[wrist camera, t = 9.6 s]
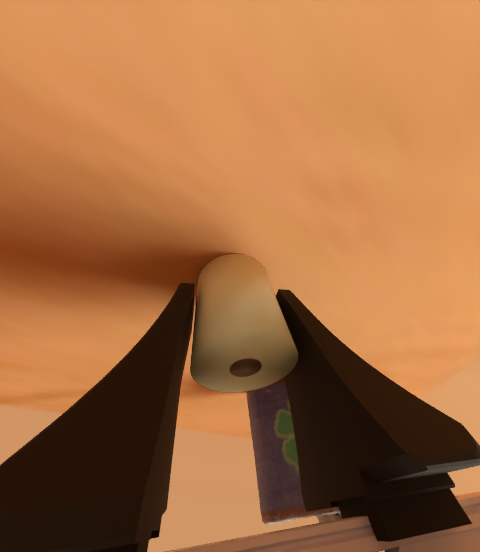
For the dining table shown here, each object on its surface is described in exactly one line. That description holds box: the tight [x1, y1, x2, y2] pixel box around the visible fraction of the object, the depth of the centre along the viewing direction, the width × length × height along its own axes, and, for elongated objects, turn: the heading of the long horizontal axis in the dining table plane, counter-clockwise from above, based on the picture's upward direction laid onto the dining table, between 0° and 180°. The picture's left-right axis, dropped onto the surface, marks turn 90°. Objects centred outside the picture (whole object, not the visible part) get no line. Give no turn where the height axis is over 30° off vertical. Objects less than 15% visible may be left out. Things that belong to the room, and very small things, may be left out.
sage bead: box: [190, 254, 298, 392], centre depth 9 cm, size 4×4×5 cm
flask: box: [247, 378, 342, 525], centre depth 16 cm, size 9×3×11 cm, turn 97°
